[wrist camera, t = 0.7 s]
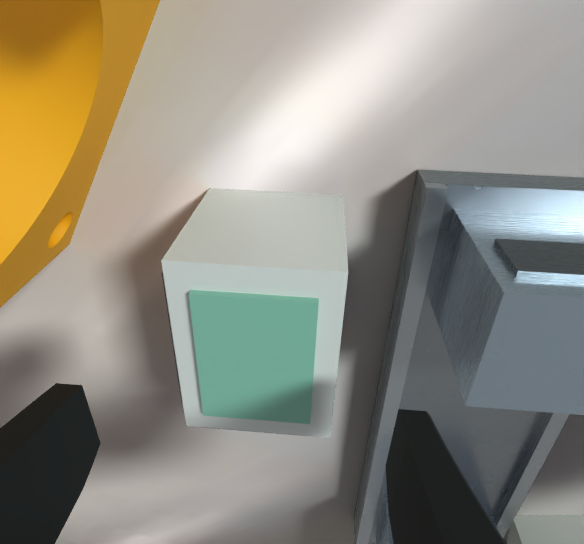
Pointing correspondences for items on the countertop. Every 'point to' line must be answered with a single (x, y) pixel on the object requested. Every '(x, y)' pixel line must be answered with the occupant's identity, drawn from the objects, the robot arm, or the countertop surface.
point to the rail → (430, 358)
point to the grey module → (259, 310)
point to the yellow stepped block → (57, 117)
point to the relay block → (547, 529)
